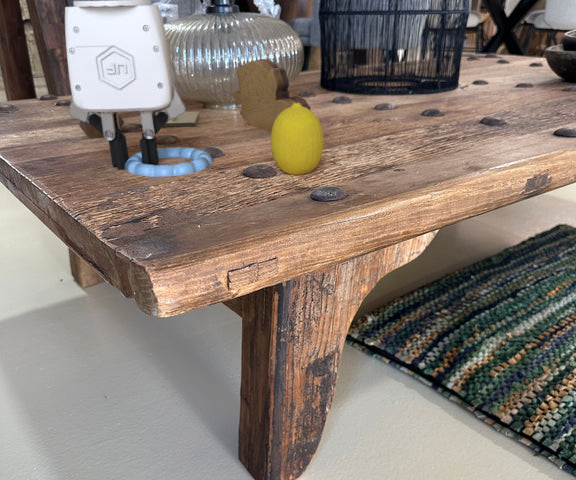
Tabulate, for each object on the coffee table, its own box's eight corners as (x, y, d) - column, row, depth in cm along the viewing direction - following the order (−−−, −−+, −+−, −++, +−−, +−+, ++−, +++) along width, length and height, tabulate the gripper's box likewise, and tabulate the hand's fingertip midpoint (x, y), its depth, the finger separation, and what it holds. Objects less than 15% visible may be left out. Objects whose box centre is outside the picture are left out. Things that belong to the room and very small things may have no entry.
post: (141, 131, 84) (128, 41, 78) (149, 120, 91) (138, 37, 85) (195, 129, 84) (187, 40, 79) (199, 119, 92) (192, 36, 86)
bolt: (103, 134, 91) (112, 152, 78) (71, 120, 88) (75, 136, 76) (116, 99, 90) (128, 112, 77) (84, 84, 87) (91, 95, 74)
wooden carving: (321, 142, 76) (322, 62, 71) (295, 148, 74) (294, 65, 69) (250, 123, 88) (247, 53, 83) (225, 128, 85) (220, 56, 80)
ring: (119, 185, 60) (116, 169, 60) (134, 161, 69) (132, 147, 68) (210, 182, 61) (208, 165, 60) (214, 159, 69) (213, 144, 69)
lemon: (278, 189, 58) (276, 109, 55) (267, 174, 63) (264, 99, 59) (329, 185, 59) (331, 105, 56) (315, 170, 64) (315, 96, 60)
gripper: (14, -9, 52) (56, 185, 61) (189, -12, 53) (205, 179, 62) (40, -9, 59) (74, 166, 68) (195, -12, 60) (209, 161, 68)
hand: (137, 171), depth 65 cm, fingers closed on ring, 2 cm apart
